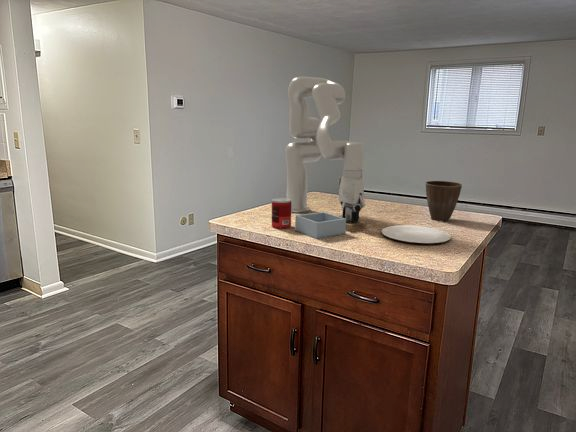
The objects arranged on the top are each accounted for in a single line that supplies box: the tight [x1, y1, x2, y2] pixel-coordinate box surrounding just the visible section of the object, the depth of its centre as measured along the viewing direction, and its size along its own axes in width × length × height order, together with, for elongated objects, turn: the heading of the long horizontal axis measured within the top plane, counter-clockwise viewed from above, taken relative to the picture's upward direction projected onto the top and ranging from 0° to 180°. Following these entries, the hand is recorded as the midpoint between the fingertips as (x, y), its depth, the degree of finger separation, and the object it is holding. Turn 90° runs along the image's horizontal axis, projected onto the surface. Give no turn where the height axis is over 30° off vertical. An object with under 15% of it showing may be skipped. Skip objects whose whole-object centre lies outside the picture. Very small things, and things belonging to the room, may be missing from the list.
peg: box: [345, 203, 357, 224], centre depth 176 cm, size 5×5×10 cm
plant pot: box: [425, 180, 463, 222], centre depth 193 cm, size 15×15×16 cm
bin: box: [294, 211, 347, 240], centre depth 169 cm, size 14×14×6 cm
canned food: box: [271, 197, 292, 230], centre depth 176 cm, size 8×8×11 cm
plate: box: [380, 224, 452, 245], centre depth 166 cm, size 25×25×2 cm
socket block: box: [346, 220, 367, 232], centre depth 177 cm, size 9×9×2 cm
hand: (350, 219), depth 177 cm, fingers open, 4 cm apart
